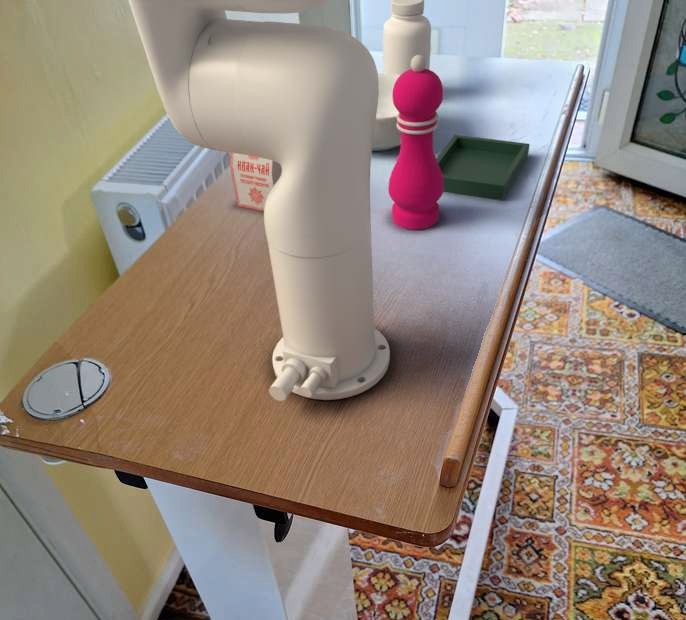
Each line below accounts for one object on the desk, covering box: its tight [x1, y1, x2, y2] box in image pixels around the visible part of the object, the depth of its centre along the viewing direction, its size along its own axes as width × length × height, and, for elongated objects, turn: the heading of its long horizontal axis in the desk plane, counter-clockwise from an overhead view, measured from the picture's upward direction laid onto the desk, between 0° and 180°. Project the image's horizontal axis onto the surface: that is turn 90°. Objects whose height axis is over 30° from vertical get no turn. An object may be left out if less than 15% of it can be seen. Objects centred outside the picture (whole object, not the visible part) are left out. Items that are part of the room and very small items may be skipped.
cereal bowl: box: [372, 73, 401, 152], centre depth 105 cm, size 17×17×7 cm
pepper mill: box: [387, 55, 444, 231], centre depth 84 cm, size 7×7×20 cm
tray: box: [436, 134, 531, 201], centre depth 98 cm, size 14×12×2 cm
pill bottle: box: [382, 0, 432, 75], centre depth 113 cm, size 8×8×15 cm
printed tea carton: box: [229, 153, 282, 212], centre depth 93 cm, size 4×7×10 cm, turn 63°
